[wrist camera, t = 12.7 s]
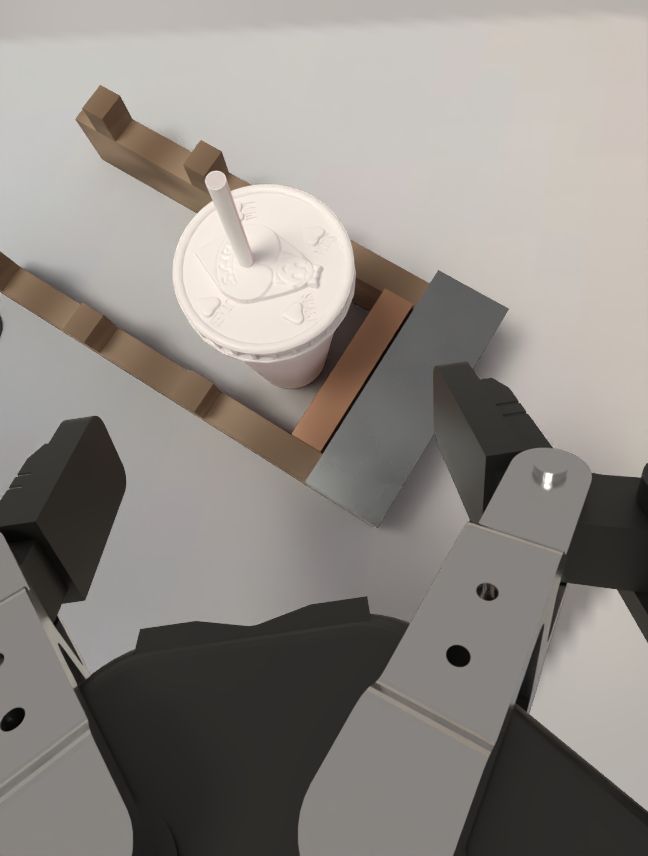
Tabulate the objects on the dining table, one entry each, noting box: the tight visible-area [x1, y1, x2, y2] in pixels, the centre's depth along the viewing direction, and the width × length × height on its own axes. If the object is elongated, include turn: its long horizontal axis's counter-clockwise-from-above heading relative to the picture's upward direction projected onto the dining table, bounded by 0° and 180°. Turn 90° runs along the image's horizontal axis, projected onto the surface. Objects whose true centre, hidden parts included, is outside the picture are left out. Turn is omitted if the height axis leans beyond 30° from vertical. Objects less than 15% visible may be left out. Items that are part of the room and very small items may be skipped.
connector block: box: [305, 270, 509, 528], centre depth 24 cm, size 4×11×4 cm, turn 148°
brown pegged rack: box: [0, 85, 429, 488], centre depth 26 cm, size 22×11×4 cm, turn 58°
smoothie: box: [173, 171, 356, 389], centre depth 20 cm, size 6×6×14 cm
